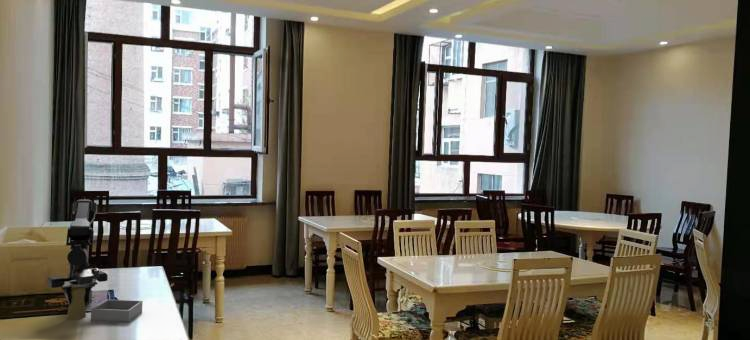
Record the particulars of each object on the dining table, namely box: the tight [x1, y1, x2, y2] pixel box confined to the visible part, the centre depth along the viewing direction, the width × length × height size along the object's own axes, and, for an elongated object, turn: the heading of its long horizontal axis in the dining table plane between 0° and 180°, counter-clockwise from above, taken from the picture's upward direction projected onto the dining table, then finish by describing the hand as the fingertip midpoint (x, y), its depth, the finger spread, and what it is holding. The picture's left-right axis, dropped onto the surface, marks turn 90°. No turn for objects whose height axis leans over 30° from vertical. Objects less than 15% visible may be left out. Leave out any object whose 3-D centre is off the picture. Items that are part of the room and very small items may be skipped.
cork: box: [66, 286, 87, 320], centre depth 197 cm, size 6×6×11 cm
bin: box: [90, 299, 143, 324], centre depth 200 cm, size 13×13×4 cm
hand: (76, 302), depth 197 cm, fingers closed on cork, 5 cm apart
